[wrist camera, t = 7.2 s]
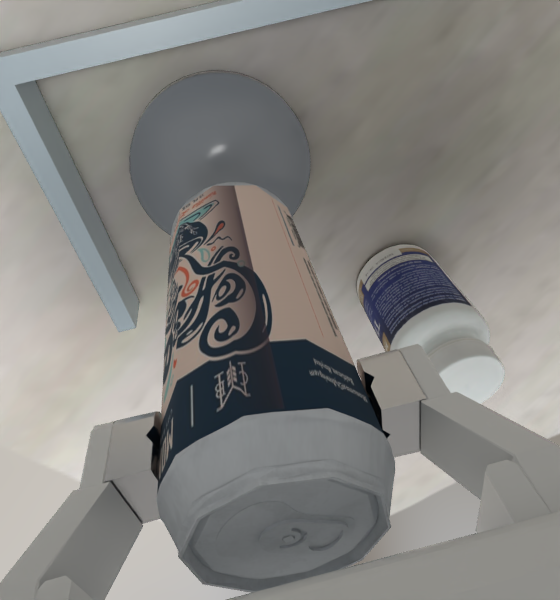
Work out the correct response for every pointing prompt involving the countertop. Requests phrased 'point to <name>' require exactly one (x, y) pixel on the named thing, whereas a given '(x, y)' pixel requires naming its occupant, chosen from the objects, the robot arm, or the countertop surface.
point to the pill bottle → (430, 319)
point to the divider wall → (96, 51)
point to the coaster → (216, 143)
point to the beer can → (261, 405)
